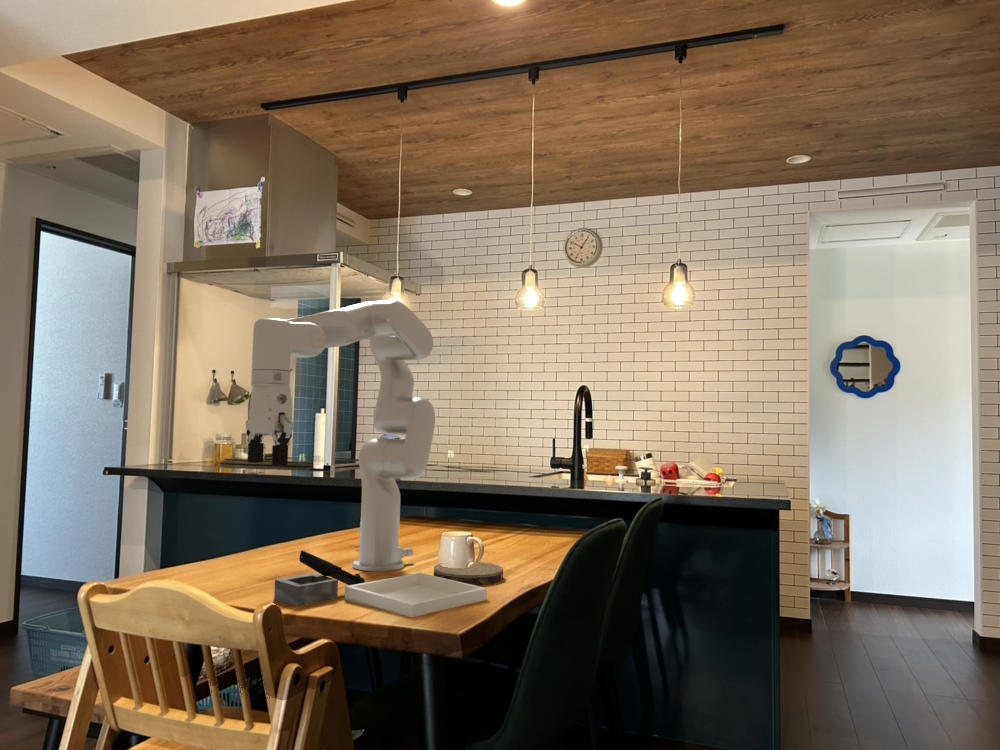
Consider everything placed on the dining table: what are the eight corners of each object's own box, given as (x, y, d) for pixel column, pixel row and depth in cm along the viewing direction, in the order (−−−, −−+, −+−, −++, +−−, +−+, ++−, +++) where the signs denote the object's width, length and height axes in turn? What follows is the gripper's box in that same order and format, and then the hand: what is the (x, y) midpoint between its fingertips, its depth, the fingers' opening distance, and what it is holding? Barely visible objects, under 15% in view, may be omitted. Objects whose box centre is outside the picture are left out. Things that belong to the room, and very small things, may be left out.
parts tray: (419, 586, 167) (420, 572, 167) (486, 603, 154) (487, 588, 154) (344, 601, 152) (345, 586, 152) (411, 621, 139) (412, 604, 139)
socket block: (313, 592, 159) (314, 573, 159) (337, 600, 153) (338, 579, 153) (274, 600, 152) (275, 579, 152) (297, 607, 146) (298, 586, 147)
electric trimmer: (292, 564, 154) (298, 549, 156) (357, 592, 161) (362, 577, 162) (299, 564, 151) (305, 549, 153) (364, 592, 158) (370, 577, 159)
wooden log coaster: (465, 571, 186) (465, 558, 187) (516, 581, 176) (517, 568, 177) (418, 580, 174) (419, 567, 174) (471, 592, 164) (471, 578, 164)
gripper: (309, 379, 153) (306, 466, 152) (266, 381, 165) (262, 460, 164) (275, 378, 147) (271, 467, 146) (233, 379, 159) (229, 461, 158)
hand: (267, 463), depth 155 cm, fingers open, 9 cm apart
